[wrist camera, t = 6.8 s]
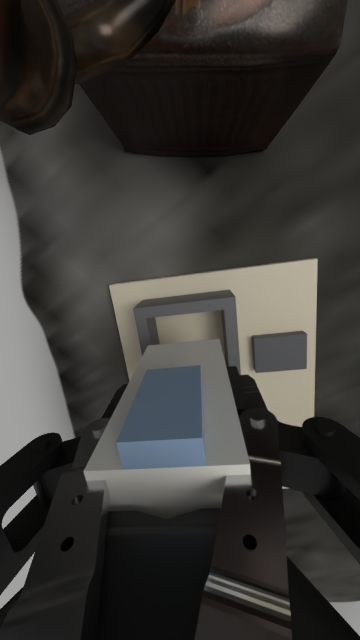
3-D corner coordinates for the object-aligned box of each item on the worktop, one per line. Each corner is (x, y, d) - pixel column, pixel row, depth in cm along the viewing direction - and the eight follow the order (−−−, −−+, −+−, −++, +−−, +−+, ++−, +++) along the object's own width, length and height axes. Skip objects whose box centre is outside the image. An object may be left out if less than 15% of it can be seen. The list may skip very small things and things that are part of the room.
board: (311, 258, 19) (340, 260, 15) (307, 478, 25) (328, 520, 21) (113, 283, 20) (93, 291, 17) (154, 483, 26) (147, 523, 22)
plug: (218, 324, 13) (248, 435, 5) (225, 401, 14) (257, 580, 7) (145, 332, 13) (75, 444, 6) (158, 406, 15) (116, 579, 7)
